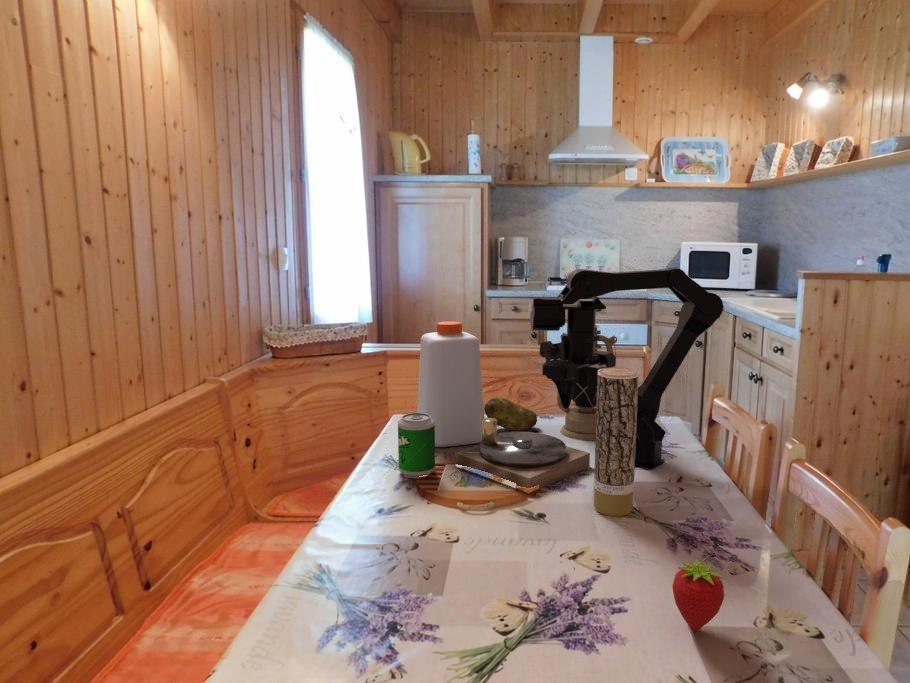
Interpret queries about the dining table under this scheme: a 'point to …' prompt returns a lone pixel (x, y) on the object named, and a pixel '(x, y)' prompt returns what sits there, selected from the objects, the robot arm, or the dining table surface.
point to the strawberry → (698, 594)
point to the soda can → (416, 444)
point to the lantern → (583, 401)
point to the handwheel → (519, 447)
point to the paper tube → (615, 440)
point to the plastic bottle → (451, 384)
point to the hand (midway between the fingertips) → (579, 403)
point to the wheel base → (527, 475)
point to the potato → (510, 414)
